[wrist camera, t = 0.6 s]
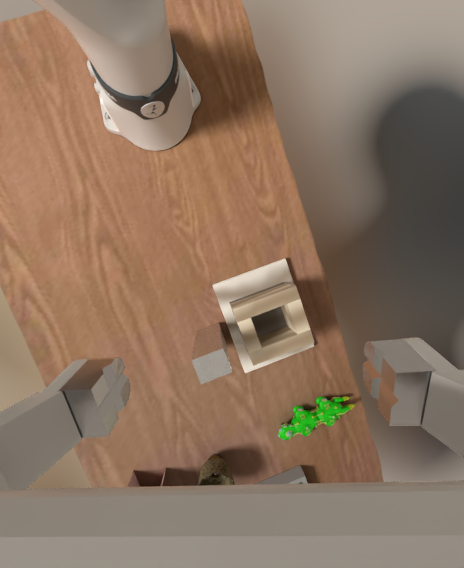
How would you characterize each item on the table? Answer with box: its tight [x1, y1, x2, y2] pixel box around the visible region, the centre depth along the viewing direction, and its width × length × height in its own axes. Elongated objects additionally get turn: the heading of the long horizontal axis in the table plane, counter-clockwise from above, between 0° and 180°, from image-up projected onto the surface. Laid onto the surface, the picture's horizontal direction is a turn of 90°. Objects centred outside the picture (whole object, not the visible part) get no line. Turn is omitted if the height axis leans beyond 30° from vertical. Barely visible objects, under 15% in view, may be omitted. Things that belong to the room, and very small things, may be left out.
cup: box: [198, 455, 234, 486], centre depth 53 cm, size 8×7×8 cm
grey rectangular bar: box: [192, 323, 232, 384], centre depth 47 cm, size 4×5×16 cm
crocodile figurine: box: [278, 396, 355, 440], centre depth 56 cm, size 7×18×4 cm, turn 110°
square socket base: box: [213, 258, 314, 373], centre depth 51 cm, size 20×16×9 cm
